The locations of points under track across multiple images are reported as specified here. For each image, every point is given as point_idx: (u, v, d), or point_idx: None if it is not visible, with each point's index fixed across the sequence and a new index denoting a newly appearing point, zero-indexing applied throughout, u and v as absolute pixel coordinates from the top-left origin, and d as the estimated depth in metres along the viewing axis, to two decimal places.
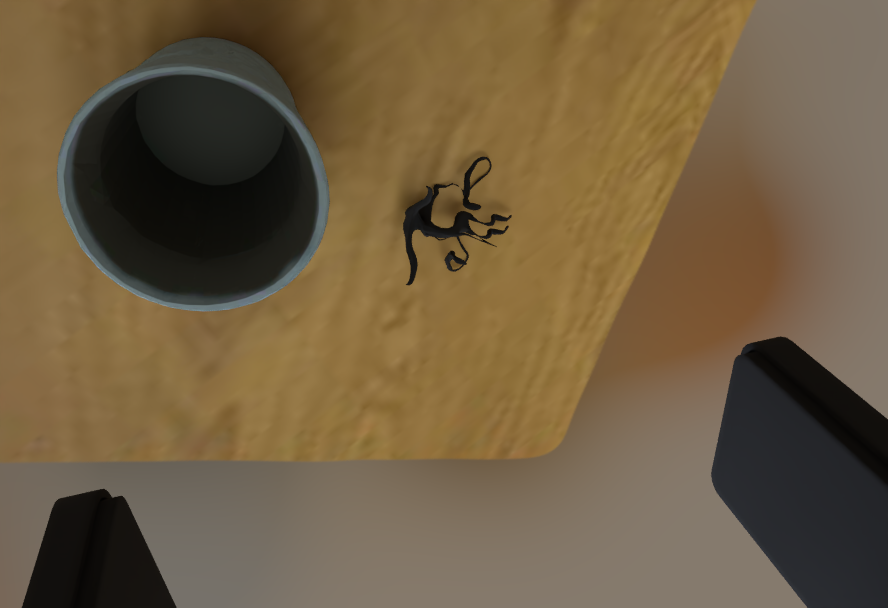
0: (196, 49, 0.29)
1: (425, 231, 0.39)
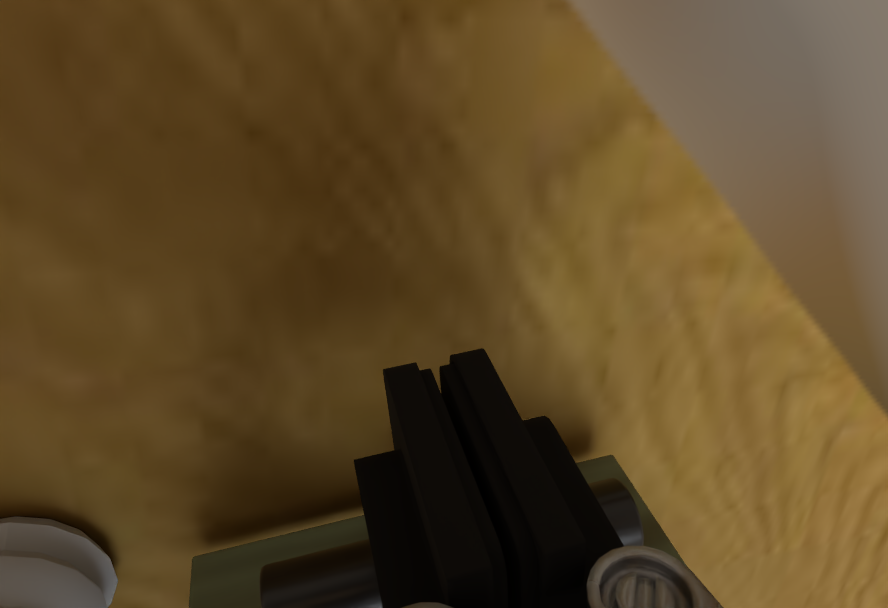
0: None
1: None
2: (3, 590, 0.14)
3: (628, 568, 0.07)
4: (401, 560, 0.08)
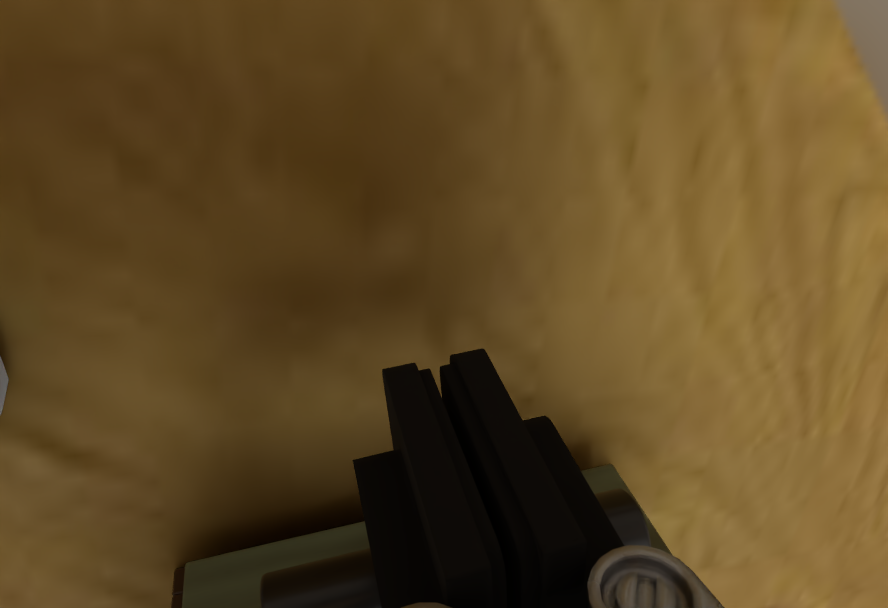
0: None
1: None
2: None
3: (629, 568, 0.07)
4: (400, 560, 0.08)
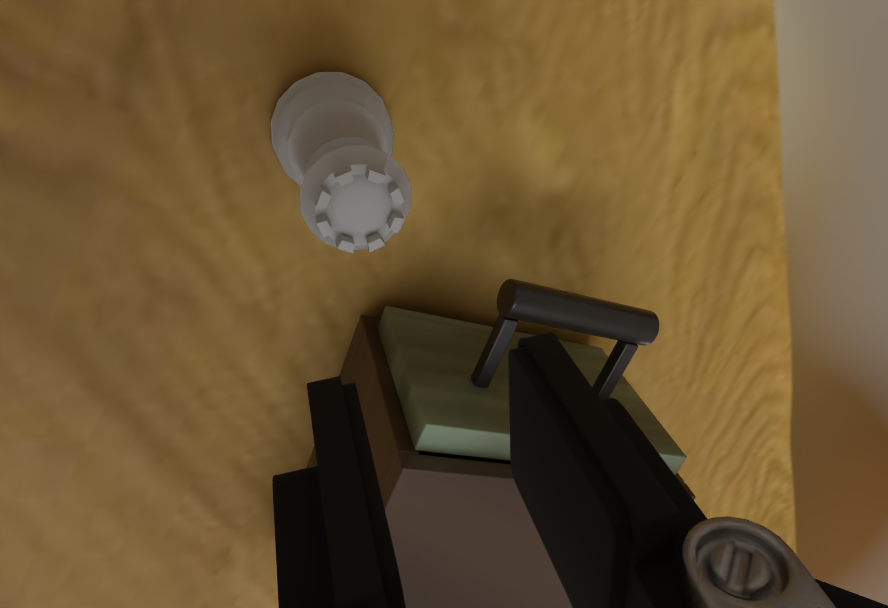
0: None
1: None
2: (370, 106, 0.23)
3: (726, 538, 0.08)
4: (305, 581, 0.08)
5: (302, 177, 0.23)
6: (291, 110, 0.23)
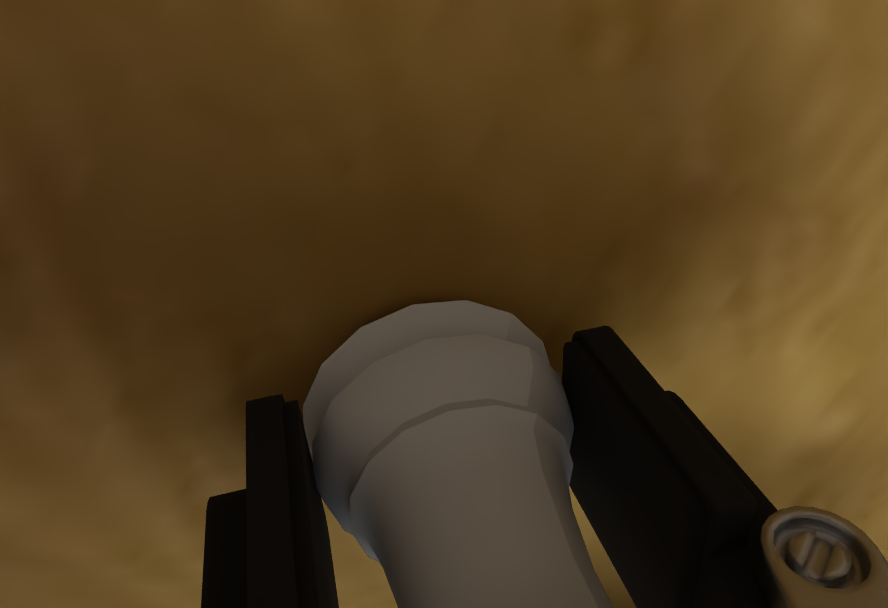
0: None
1: None
2: (540, 395, 0.10)
3: (808, 529, 0.08)
4: None
5: None
6: (357, 418, 0.09)
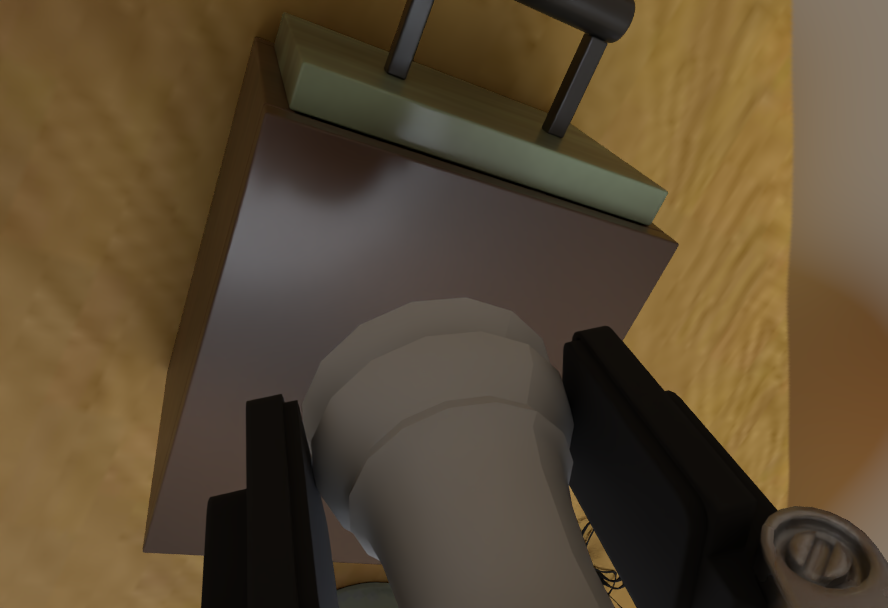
0: None
1: None
2: (539, 392, 0.10)
3: (808, 529, 0.08)
4: None
5: None
6: (357, 416, 0.09)
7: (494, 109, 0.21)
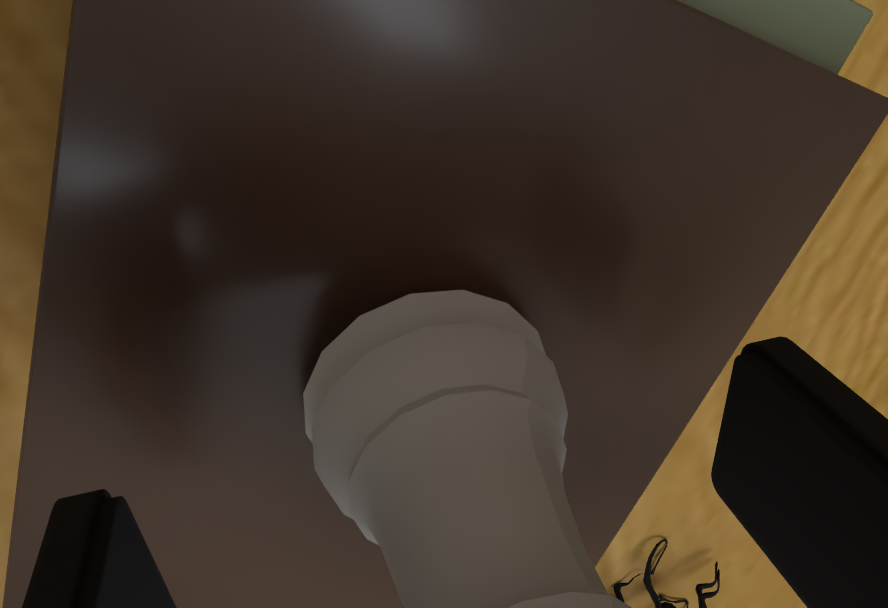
0: None
1: None
2: (534, 382, 0.10)
3: None
4: None
5: None
6: (356, 404, 0.10)
7: None
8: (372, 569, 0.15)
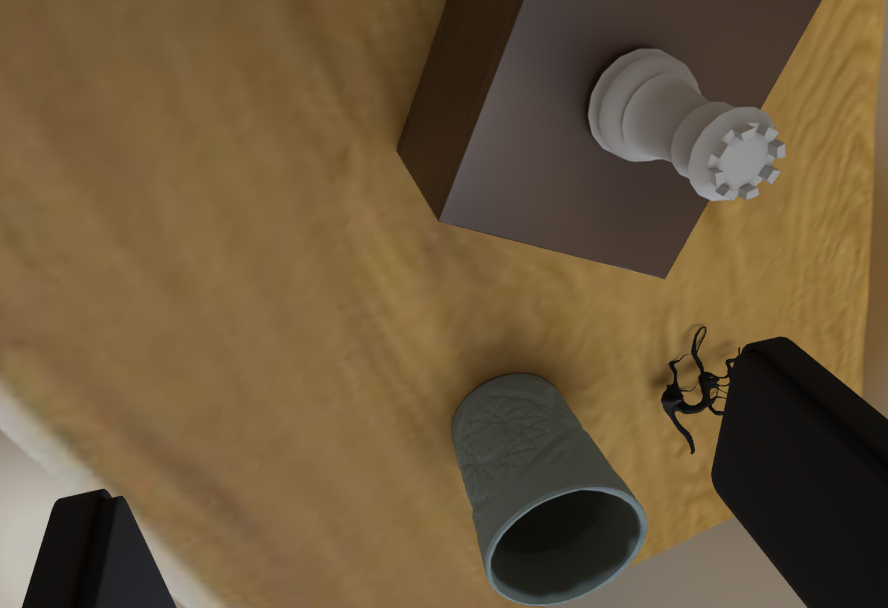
0: (501, 438, 0.42)
1: (685, 413, 0.49)
2: (691, 78, 0.26)
3: None
4: None
5: (630, 141, 0.26)
6: (627, 82, 0.26)
7: None
8: (591, 211, 0.31)
